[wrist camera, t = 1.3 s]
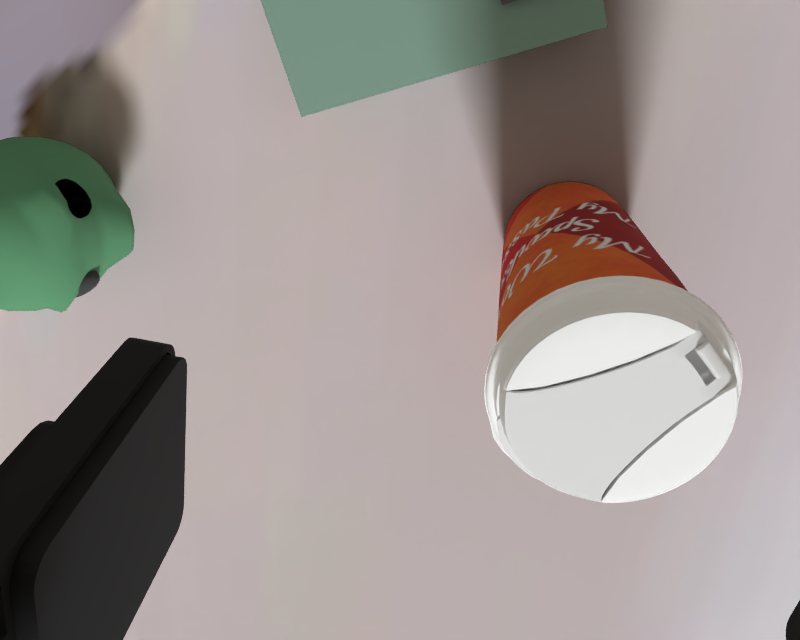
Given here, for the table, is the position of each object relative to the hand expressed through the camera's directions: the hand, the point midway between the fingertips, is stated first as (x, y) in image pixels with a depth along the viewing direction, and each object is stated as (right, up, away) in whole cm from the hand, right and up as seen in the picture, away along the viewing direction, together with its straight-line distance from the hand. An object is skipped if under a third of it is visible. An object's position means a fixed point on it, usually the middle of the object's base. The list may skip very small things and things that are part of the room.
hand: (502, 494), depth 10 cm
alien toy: (-16, +9, +25) cm, 31 cm away
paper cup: (+6, +6, +24) cm, 25 cm away
